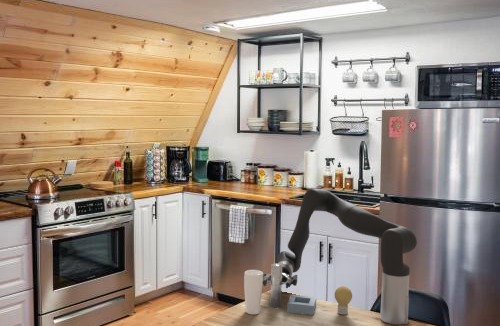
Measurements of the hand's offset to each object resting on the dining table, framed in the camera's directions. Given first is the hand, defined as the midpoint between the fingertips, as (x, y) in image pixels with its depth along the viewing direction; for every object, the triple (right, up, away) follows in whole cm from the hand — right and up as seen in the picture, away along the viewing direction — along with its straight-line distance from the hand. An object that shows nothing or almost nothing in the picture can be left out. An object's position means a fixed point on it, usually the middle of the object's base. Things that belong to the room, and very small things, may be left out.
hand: (275, 284), depth 194 cm
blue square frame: (+10, -9, 0) cm, 14 cm away
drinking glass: (-9, -9, -4) cm, 14 cm away
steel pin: (0, -9, +2) cm, 9 cm away
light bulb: (+24, -10, -3) cm, 27 cm away
